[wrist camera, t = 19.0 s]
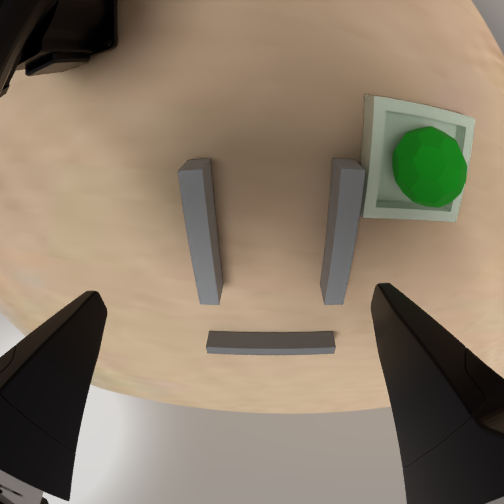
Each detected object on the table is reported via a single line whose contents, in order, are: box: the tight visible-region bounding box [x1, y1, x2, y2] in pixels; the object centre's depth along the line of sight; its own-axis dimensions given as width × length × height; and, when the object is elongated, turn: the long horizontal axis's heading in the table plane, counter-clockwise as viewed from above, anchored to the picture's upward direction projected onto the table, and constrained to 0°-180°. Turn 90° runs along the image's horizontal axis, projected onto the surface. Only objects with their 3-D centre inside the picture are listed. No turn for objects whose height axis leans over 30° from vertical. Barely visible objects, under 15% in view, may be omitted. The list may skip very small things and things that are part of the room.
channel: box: [178, 158, 365, 355], centre depth 22 cm, size 18×12×2 cm
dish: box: [360, 94, 475, 222], centre depth 16 cm, size 8×8×2 cm
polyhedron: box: [392, 126, 467, 208], centre depth 14 cm, size 5×5×5 cm
